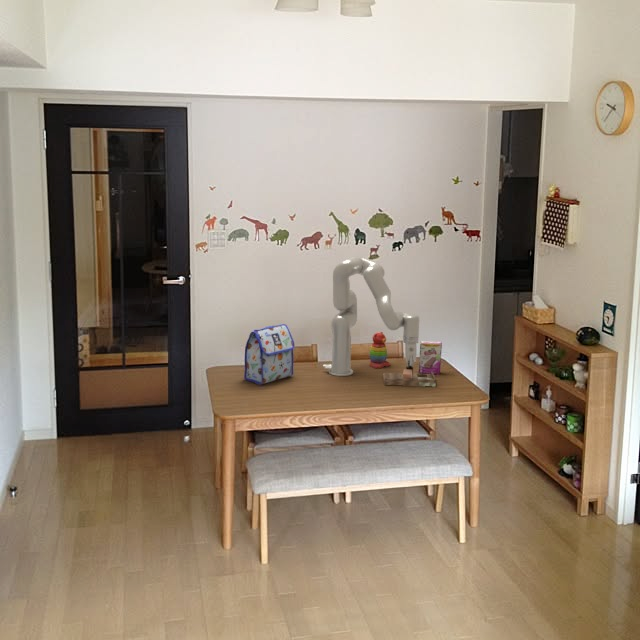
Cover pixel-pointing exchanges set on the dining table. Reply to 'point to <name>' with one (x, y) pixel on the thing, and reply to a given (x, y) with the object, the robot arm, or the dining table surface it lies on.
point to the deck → (415, 381)
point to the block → (407, 374)
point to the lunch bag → (269, 354)
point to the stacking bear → (378, 351)
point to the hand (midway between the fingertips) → (409, 374)
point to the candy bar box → (430, 357)
